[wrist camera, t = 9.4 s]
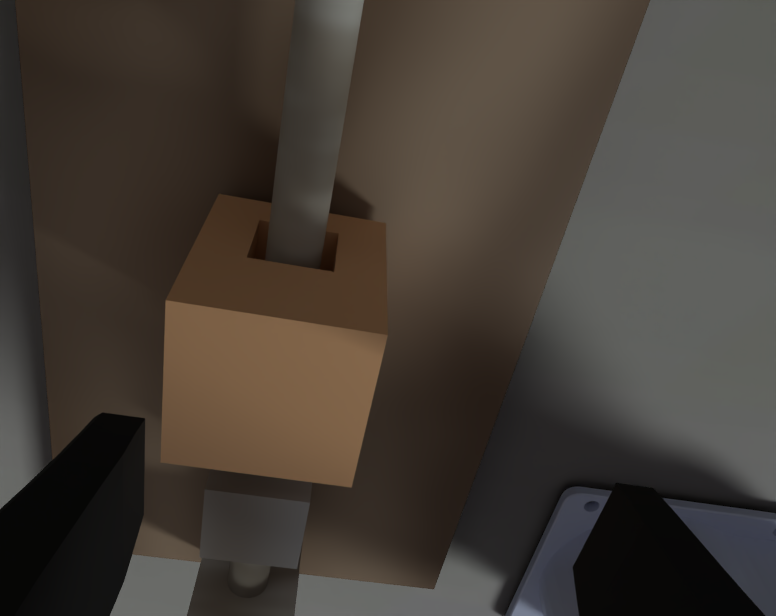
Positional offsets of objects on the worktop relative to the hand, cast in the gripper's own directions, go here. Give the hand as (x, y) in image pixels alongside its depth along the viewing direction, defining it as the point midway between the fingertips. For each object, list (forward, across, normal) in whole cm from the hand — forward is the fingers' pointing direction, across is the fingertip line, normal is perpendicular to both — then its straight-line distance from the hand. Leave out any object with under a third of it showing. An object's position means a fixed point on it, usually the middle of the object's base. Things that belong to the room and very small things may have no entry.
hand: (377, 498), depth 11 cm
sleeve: (+8, +2, +1) cm, 8 cm away
